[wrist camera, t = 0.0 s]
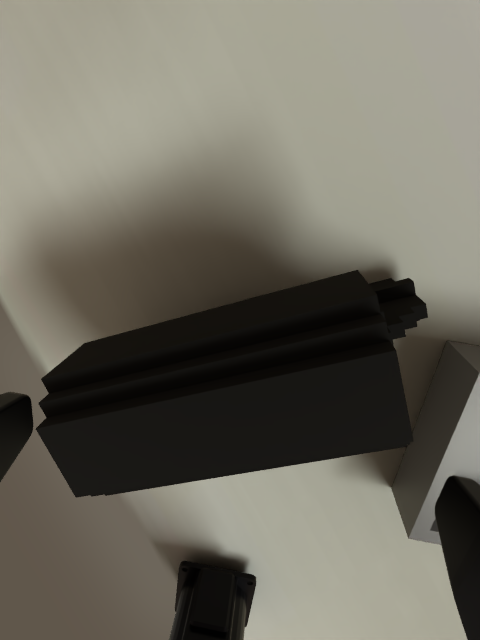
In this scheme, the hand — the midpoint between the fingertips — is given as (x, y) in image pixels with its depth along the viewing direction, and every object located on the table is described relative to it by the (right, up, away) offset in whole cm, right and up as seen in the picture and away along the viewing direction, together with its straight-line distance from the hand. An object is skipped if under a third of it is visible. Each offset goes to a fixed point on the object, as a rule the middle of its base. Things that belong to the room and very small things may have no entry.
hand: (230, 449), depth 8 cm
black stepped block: (+1, +2, +16) cm, 16 cm away
